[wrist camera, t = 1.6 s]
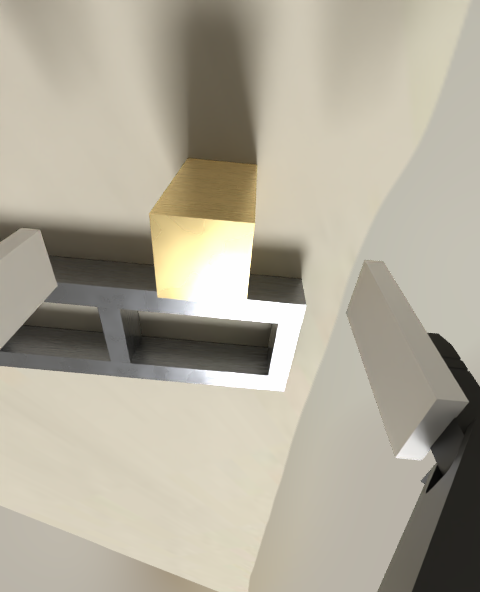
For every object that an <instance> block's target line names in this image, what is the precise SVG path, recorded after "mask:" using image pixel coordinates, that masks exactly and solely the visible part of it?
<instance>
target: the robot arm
mask: <svg viewBox="0 0 480 592" xmlns="http://www.w3.org/2000/svg"><path fill="white" fill-rule="evenodd" d="M57 286H58V285H57V282H56V279H55V276H54V273H53V269H52V266H51V263H50V260H49V257H48V253H47V250H46V247H45V244H44V241H43V238H42V234H41V231H40V230H39V229H29V228H20V229H19V230H17V231H16V232H14V233H13V234H11V235H10V236H8V237H7V238H6V239H4V240H3V241H1V242H0V349H1V348H2V347H3V346H4V345H5V344H6V342H7V341H8V340H9V339H10V338H11V337H12V336H13V335H14V334H15V333H16V331H17V330H18V329H19V328H20V327H21V326H22V325H23V324H24V323H25V321H26V320H27V319H28V318H29V317H30V316H31V315H32V314H33V313H34V312H35V310H36V309H37V308H38V307H39V306H40V305H41V304H42V303H43V302H44V300H45V299H46V298H47V297H48V296H49V295H50V294H51V293H52V292H53V291H54V289H55V288H56V287H57ZM346 314H347V317H348V319H349V323H350V326H351V328H352V331H353V335H354V338H355V340H356V343H357V346H358V349H359V352H360V355H361V358H362V361H363V364H364V367H365V370H366V373H367V376H368V379H369V382H370V385H371V388H372V390H373V393H374V397H375V400H376V403H377V405H378V408H379V411H380V414H381V417H382V420H383V423H384V426H385V429H386V432H387V435H388V438H389V441H390V443H391V447H392V450H393V453H394V456H395V458H402V459H413V460H422V459H423V458H424V457H425V456H426V454H427V453H428V452H429V451H430V449H431V450H432V453H433V455H434V457H435V460H436V462H437V463H436V464H435V465H434V466H433V468H432V469H431V470H430V471H429V472H428V473H427V474H426V476H425V477H424V478H423V479H422V480H421V482H423V483H424V484H425V485H424V487H423V490H422V492H421V494H420V496H419V499H418V501H417V503H416V505H415V508H414V510H413V512H412V515H411V517H410V519H409V521H408V524H407V526H406V528H405V530H404V533H403V535H402V537H401V540H400V542H399V544H398V546H397V549H396V551H395V553H394V555H393V558H392V560H391V562H390V564H389V567H388V569H387V571H386V574H385V576H384V578H383V580H382V583H381V585H380V587H379V589H378V592H480V386H479V385H478V383H477V382H476V380H475V379H474V377H473V376H472V374H471V373H470V371H467V367H466V366H465V364H464V363H463V361H461V360H460V357H459V355H458V354H457V352H456V351H455V349H454V348H453V346H452V345H451V344H450V343H448V342H447V341H446V340H445V339H444V338H443V337H442V336H440V335H439V334H435V333H427V332H426V331H425V329H424V327H423V326H422V324H421V322H420V321H419V319H418V318H417V316H416V314H415V313H414V311H413V309H412V308H411V306H410V304H409V303H408V301H407V299H406V298H405V296H404V294H403V293H402V291H401V290H400V288H399V286H398V285H397V283H396V281H395V280H394V278H393V276H392V275H391V273H390V271H389V270H388V268H387V267H386V265H385V263H384V262H383V261H372V260H364V263H363V266H362V269H361V271H360V274H359V277H358V280H357V283H356V286H355V289H354V291H353V295H352V297H351V300H350V303H349V306H348V309H347V311H346Z"/></svg>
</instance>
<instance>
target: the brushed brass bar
mask: <svg viewBox="0 0 480 592" xmlns="http://www.w3.org/2000/svg"><path fill="white" fill-rule="evenodd" d="M256 179H257V165H256V164H245V163H235V162H224V161H213V160H203V159H192V158H187V160H186V161H185V163H184V164H183V166H182V167H181V168H180V170H179V171H178V173H177V174H176V176H175V177H174V179H173V180H172V181H171V183H170V184H169V186H168V187H167V189H166V190H165V192H164V193H163V194H162V196H161V197H160V199H159V200H158V202H157V203H156V204H155V206H154V207H153V209H152V210H151V212H150V213H149V217H150V227H151V237H152V247H153V257H154V267H155V277H156V287H157V297H158V298H168V299H179V300H190V301H201V302H212V303H222V304H233V305H244V306H246V299H247V290H248V281H249V272H250V263H251V254H252V245H253V236H254V227H255V206H256Z"/></svg>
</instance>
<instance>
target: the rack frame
mask: <svg viewBox="0 0 480 592" xmlns="http://www.w3.org/2000/svg"><path fill="white" fill-rule="evenodd" d="M48 257H49V260H50V263H51V266H52V269H53V273H54V276H55V279H56V282H57V285H58V286H57V287H56V288H55V289H54V291H53V292H52V293H51V294H50V295H49V296H48V297H47V298H46V299H45V300H44V302H51V303H62V304H73V305H83V306H94V307H98V311H99V315H100V319H101V323H102V327H103V331H104V333H101V332H90V331H79V330H68V329H57V328H46V327H35V326H24V325H22V326H21V327H20V328H19V329H18V330H17V331H16V333H15V334H14V335H13V336H12V337H11V338H10V339H9V340H8V341H7V342H6V344H5V345H4V346H3V347H2V348H1V349H0V366H8V367H19V368H31V369H42V370H53V371H64V372H75V373H86V374H97V375H108V376H119V377H130V378H141V379H152V380H163V381H174V382H185V383H196V384H207V385H218V386H229V387H240V388H251V389H262V390H273V391H284V390H285V386H286V382H287V378H288V374H289V370H290V366H291V363H292V359H293V355H294V351H295V347H296V343H297V339H298V335H299V331H300V327H301V324H302V320H303V316H304V312H305V308H306V301H305V296H304V290H303V284H302V279H296V278H285V277H274V276H263V275H252V274H249V281H248V290H247V299H246V306H244V305H233V304H222V303H212V302H201V301H190V300H179V299H168V298H158V297H157V287H156V277H155V267H154V265H144V264H133V263H122V262H111V261H100V260H90V259H79V258H68V257H57V256H48ZM138 311H149V312H160V313H171V314H182V315H193V316H204V317H214V318H225V319H236V320H247V321H258V322H269V323H272V327H271V333H270V338H269V344H268V348H265V347H254V346H243V345H232V344H221V343H211V342H200V341H189V340H178V339H167V338H156V337H145V336H142V335H141V328H140V322H139V315H138Z"/></svg>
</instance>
